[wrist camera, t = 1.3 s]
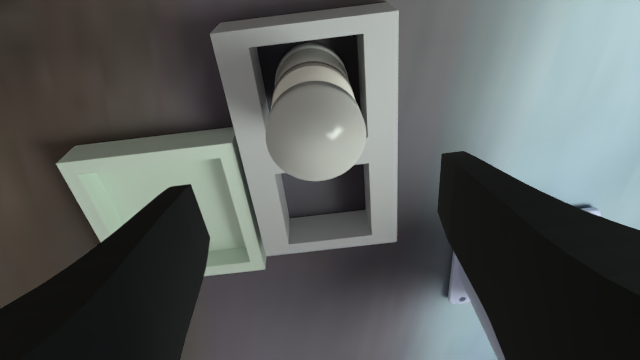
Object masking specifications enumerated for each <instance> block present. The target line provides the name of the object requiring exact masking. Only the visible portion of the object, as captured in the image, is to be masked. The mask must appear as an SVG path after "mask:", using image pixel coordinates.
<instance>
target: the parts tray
mask: <svg viewBox="0 0 640 360" xmlns="http://www.w3.org/2000/svg"><path fill="white" fill-rule="evenodd" d="M56 165H57V167H58V168H59V170H60V172H61V174H62V175H63V177H64V179H65V181H66V182H67V184H68V186H69V188H70V189H71V191H72V193H73V195H74V196H75V198H76V200H77V202H78V204H79V205H80V207H81V209H82V211H83V212H84V214H85V216H86V218H87V219H88V221H89V223H90V225H91V226H92V228H93V230H94V232H95V233H96V235H97V237H98V239H99V240H100V242H102V241H103V240H105V239H106V238H107V237H109V236H110V235H111V234H112V233H114V232H115V231H116V230H117V229H119V228H120V227H121V226H122V225H123V224H125V223H126V222H127V221H128V220H129V219H131V218H132V217H133V216H134V215H135V214H137V213H138V212H139V211H140V210H141V209H142V208H144V207H145V206H146V205H147V204H148V203H150V202H151V201H152V200H153V199H154V198H156V197H157V196H158V195H159V194H161V193H162V192H163V191H164V190H166V189H167V188H169V187H171V186H179V185H187V184H191V186H192V189H193V191H194V194H195V197H196V200H197V202H198V205H199V208H200V211H201V214H202V216H203V219H204V222H205V225H206V227H207V230H208V233H209V236H210V244H209V251H208V258H207V265H206V270H205V273H204V276H211V275H220V274H229V273H238V272H247V271H256V270H265V267H266V257H267V256H266V253H265V249H264V246H263V242H262V238H261V234H260V230H259V226H258V222H257V218H256V214H255V210H254V206H253V202H252V198H251V194H250V190H249V186H248V183H247V179H246V175H245V171H244V167H243V163H242V159H241V155H240V151H239V147H238V143H237V139H236V135H235V131H234V127H229V128H220V129H212V130H203V131H195V132H186V133H178V134H169V135H161V136H152V137H144V138H136V139H127V140H119V141H110V142H102V143H93V144H85V145H76V146H74V147H73V148H72V149H71V150H70V151H69V152H68V153H67V154H66V155H65V156H63V157H62V158H61V159H60V160H59V161H58V162H57V163H56Z"/></svg>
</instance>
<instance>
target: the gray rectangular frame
mask: <svg viewBox="0 0 640 360" xmlns="http://www.w3.org/2000/svg"><path fill="white" fill-rule="evenodd" d="M398 14H399V11H398V10H397V9H396V8H394V7H393V6H392V5H390V4H389V3H387V2H383V3H375V4H367V5H359V6H351V7H343V8H335V9H327V10H319V11H310V12H302V13H294V14H286V15H278V16H270V17H262V18H254V19H246V20H238V21H230V22H222V23H219V24H218V26H217V27H216V28H215V29H214V30H213V31H212V32H211V33H210V37H211V41H212V45H213V49H214V53H215V57H216V61H217V65H218V68H219V72H220V76H221V80H222V84H223V88H224V92H225V96H226V100H227V104H228V108H229V112H230V116H231V120H232V124H233V127H234V131H235V135H236V139H237V143H238V147H239V151H240V155H241V159H242V163H243V167H244V171H245V175H246V179H247V183H248V186H249V190H250V194H251V198H252V202H253V206H254V210H255V214H256V218H257V222H258V226H259V230H260V234H261V238H262V242H263V246H264V249H265V253H266V256H274V255H283V254H292V253H301V252H310V251H319V250H328V249H337V248H346V247H355V246H364V245H373V244H382V243H391V242H397V165H398ZM348 35H357V48H358V68H359V87H360V107H361V114H362V117H363V119H364V122H365V126H366V143H365V147H364V150H363V152H362V154H361V156H360V158H359V159H358V161H357V162H356V163H355V164H354V165H358V164H363V166H364V186H365V205H366V210H359V211H350V212H342V213H333V214H324V215H315V216H306V217H297V218H290V217H289V212H288V207H287V202H286V197H285V192H284V186H283V181H282V176H281V173H286V172H284V171H283V170H282V169H281V168H280V167H278V166H277V164H276V163H275V162H274V161H273V159H272V158H271V156H270V154H269V152H268V149H267V145H266V128H267V122H268V116H269V109H268V103H267V98H266V93H265V88H264V83H263V77H262V72H261V67H260V62H259V57H258V51H257V47H259V46H267V45H275V44H283V43H291V42H299V41H308V40H316V39H324V38H332V37H340V36H348Z"/></svg>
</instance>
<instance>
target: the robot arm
mask: <svg viewBox="0 0 640 360" xmlns="http://www.w3.org/2000/svg"><path fill="white" fill-rule="evenodd" d="M438 214H439V217H440V220H441V223H442V226H443V228H444V231H445V234H446V236H447V239H448V241H449V243H450V245H451V247H452V249H453V258H452V266H451V275H450V283H449V292H448V299H449V302H450V303H452V304H459V303H468V302H471V303H472V306H473V308H474V310H475V312H476V314H477V316H478V318H479V320H480V323H481V325H482V327H483V329H484V331H485V333H486V335H487V337H488V339H489V342H490V344H491V346H492V348H493V350H494V352H495V354H496V356H497V359H498V360H640V230H637V229H634V228H631V227H628V226H625V225H622V224H619V223H616V222H613V221H610V220H608V219H605V218H603V217H600V215H601V212H600V211H599V210H598V209H597V208H595V207H591V208H582V209H579V208H577V207H574V206H572V205H570V204H567V203H565V202H563V201H561V200H558V199H556V198H554V197H552V196H550V195H548V194H545V193H543V192H541V191H539V190H537V189H535V188H533V187H531V186H529V185H527V184H525V183H523V182H521V181H519V180H517V179H516V178H514V177H512V176H510V175H508V174H506V173H504V172H503V171H501V170H499V169H497V168H495V167H493V166H492V165H490V164H488V163H486V162H484V161H482V160H481V159H479V158H477V157H475V156H473V155H471V154H469V153H467V152H464V151H461V152H452V153H444V154H442V158H441V172H440V185H439V198H438ZM209 244H210V236H209V233H208V230H207V227H206V225H205V222H204V219H203V216H202V214H201V211H200V208H199V205H198V202H197V200H196V197H195V194H194V191H193V189H192V186H191V184H187V185H179V186H171V187H169V188H167V189H166V190H164V191H163V192H162V193H161V194H159V195H158V196H157V197H156V198H154V199H153V200H152V201H151V202H150V203H148V204H147V205H146V206H145V207H144V208H142V209H141V210H140V211H139V212H138V213H137V214H135V215H134V216H133V217H132V218H131V219H129V220H128V221H127V222H126V223H125V224H123V225H122V226H121V227H120V228H119V229H117V230H116V231H115V232H114V233H112V234H111V235H110V236H109V237H107V238H106V239H105V240H103V241H102V242H101V243H100V244H98V245H97V246H96V247H94V248H93V249H92V250H91V251H89V252H88V253H87V254H85V255H84V256H83V257H81V258H80V259H79V260H77V261H76V262H74V263H73V264H72V265H70V266H69V267H67V268H66V269H64V270H63V271H61V272H60V273H58V274H57V275H55V276H54V277H52V278H51V279H49V280H48V281H46V282H45V283H43V284H42V285H40V286H38V287H37V288H35V289H33V290H32V291H30V292H28V293H27V294H25V295H23V296H21V297H20V298H18V299H16V300H15V301H13V302H11V303H10V304H8V305H6V306H4V307H3V308H1V309H0V360H180V359H181V354H182V350H183V346H184V342H185V338H186V334H187V331H188V328H189V324H190V321H191V318H192V314H193V311H194V308H195V304H196V301H197V298H198V294H199V291H200V287H201V284H202V280H203V277H204V273H205V270H206V265H207V258H208V251H209Z"/></svg>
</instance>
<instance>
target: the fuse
mask: <svg viewBox="0 0 640 360" xmlns="http://www.w3.org/2000/svg"><path fill="white" fill-rule="evenodd" d="M365 143H366V126H365V122H364V119H363V117H362V114H361V111H360V109H359V106H358V104H357V103H356V101H355V98H354V94H353V90H352V88H351V85H350V83H349V80H348V75H347V71H346V69H345V66H344V63H343V61H342V60H341V58H340V57H339V55H338V54H337V53H336V52H335V51H334V50H332V49H331V48H330V47H328V46H326V45H323V44H320V43H314V42H308V43H302V44H299V45H297V46H295V47H293V48H291V49H290V50H288V51H287V52H286V53H285V54H284V56H283V57H282V58H281V60H280V62H279V64H278V67H277V70H276V76H275V88H274V92H273V97H272V106H271V110H270V113H269V116H268V122H267V128H266V145H267V149H268V152H269V154H270V156H271V158H272V159H273V161H274V162H275V163H276V164H277V166H278V167H280V168H281V169H282V170H283V171H284V172H286V173H287V174H289V175H291V176H293V177H296V178H298V179H302V180H307V181H323V180H329V179H332V178H335V177H337V176H340V175H341V174H343V173H345V172H346V171H348V170H349V169H350V168H351V167H352V166H353V165H354V164H355V163H356V162H357V161H358V159H359V158H360V156H361V154H362V152H363V150H364V147H365Z"/></svg>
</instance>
